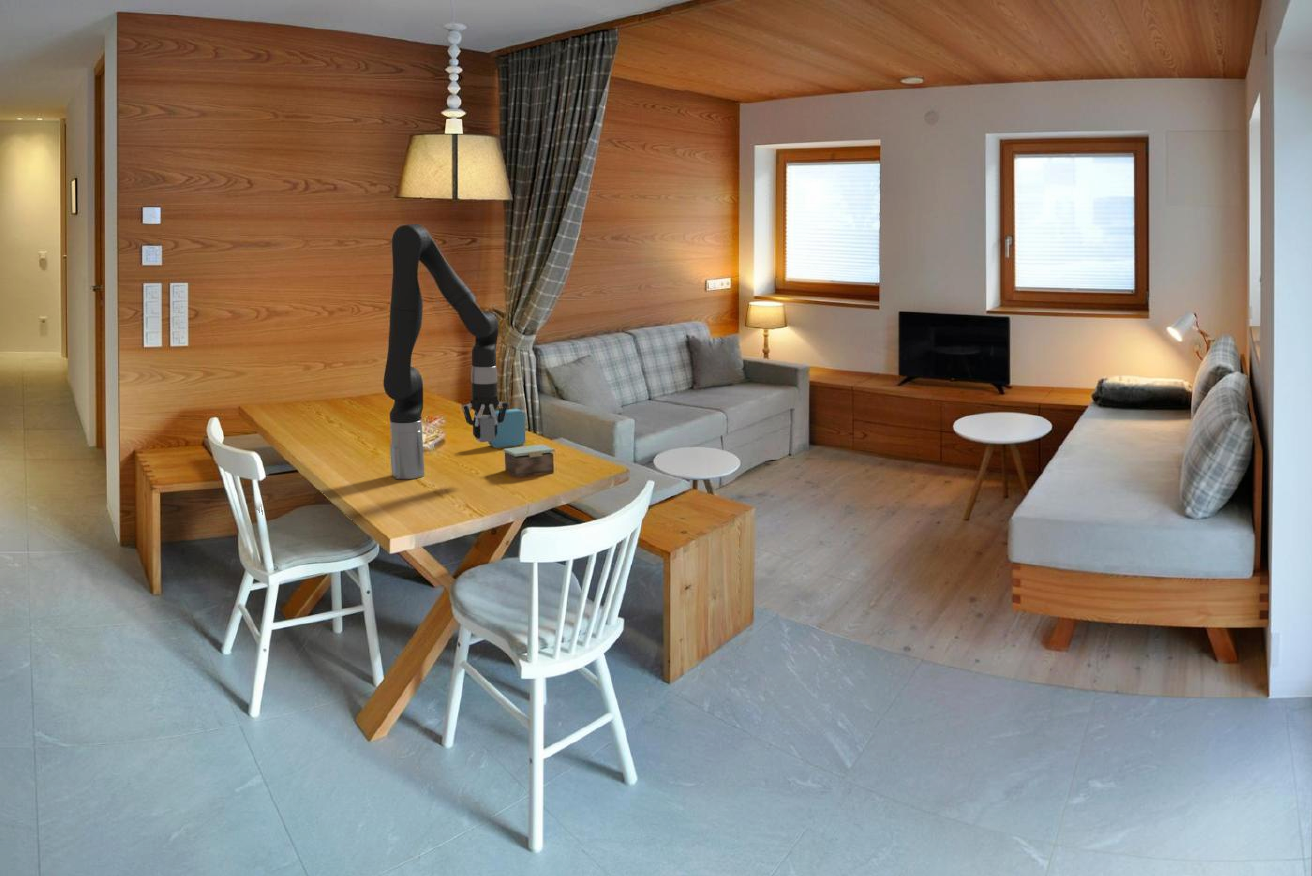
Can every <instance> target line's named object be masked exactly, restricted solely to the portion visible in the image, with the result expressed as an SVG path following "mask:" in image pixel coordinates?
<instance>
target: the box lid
mask: <svg viewBox="0 0 1312 876" xmlns="http://www.w3.org/2000/svg"><path fill="white" fill-rule="evenodd" d="M502 450H503V452H504V453H505V452H506V453H508V454H510V455H513V456H515V457H516V456H524V455H529V457H537V456H542V453H549V452H551V453H556V450H555V448H553V447H550V446H548V445H545V444H542V443H541V444H534V445H526V446H524V445H523V446H518V447H517V446H515V447H506V448H503V449H502Z"/></svg>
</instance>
